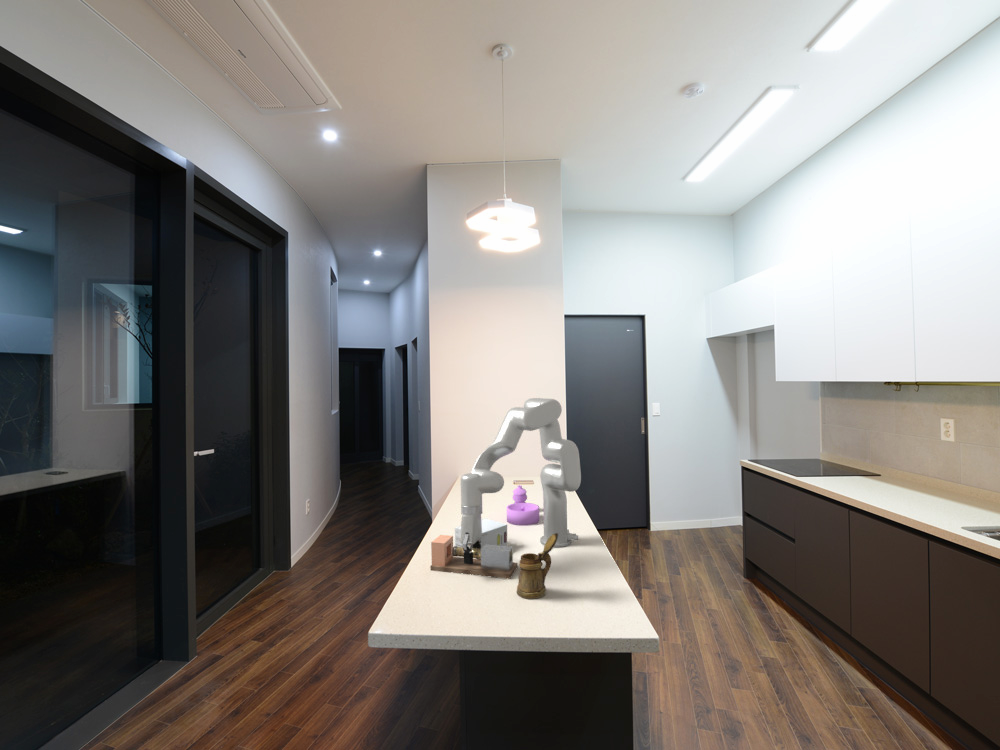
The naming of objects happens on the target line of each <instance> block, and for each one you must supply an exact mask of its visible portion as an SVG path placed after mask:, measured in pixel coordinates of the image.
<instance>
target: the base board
mask: <svg viewBox="0 0 1000 750" xmlns="http://www.w3.org/2000/svg"><path fill="white" fill-rule="evenodd" d="M516 568H517V569H518V562H514V561H513V566H512V567H511V569H510V570H509V571H504V570H494V569H485V568H481V559H480V558H478V559H476V558H473V564H465V563H464V557H459V556H457V557H456V556H453V559H452V560H451V561H450V562H449V563H447V564H446V565H445V566H438V565H432V564H431V565H430V571H434V572H441V573H442V572H444V573H451V572H453V574H461V573H463V574H462V575H470V574H471V575H470V576H479V575H482V576H481V577H488V576H491V577H490V578H492V577H493V578H498V577H500V579H507V578H508V579H509V580H510V579H511V578H512V577H513V575H514V573H515V572H516V570H517V569H516ZM472 574H473V575H472ZM511 576H512V577H511Z"/></svg>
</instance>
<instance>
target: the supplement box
mask: <svg viewBox="0 0 1000 750" xmlns="http://www.w3.org/2000/svg"><path fill="white" fill-rule="evenodd" d="M481 521H482V535H481V538H480V539H481V543H479V544H481V549H482V548H483V546H484V545H485V544H488V545H499V546H508V524H507V523H504V522H500V521H497V520H493V519H489V518H481ZM468 543H471V542H468ZM454 546H458V547H463V546H462V544H461V525H460V526H459V525H458V526H456V527H454ZM468 547H469V548H470V545H468Z"/></svg>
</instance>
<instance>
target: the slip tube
mask: <svg viewBox="0 0 1000 750" xmlns="http://www.w3.org/2000/svg"><path fill="white" fill-rule="evenodd" d="M472 552H473V559H476V558H478V559H481V549H477V548H472ZM452 555H453V557H463V558H464V552H463V547H458V546H455V545H453V551H452ZM510 557H511V553H509V561H510Z"/></svg>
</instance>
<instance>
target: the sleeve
mask: <svg viewBox="0 0 1000 750" xmlns="http://www.w3.org/2000/svg"><path fill="white" fill-rule="evenodd" d="M513 548H514V547H513V546H508V545H507V546H499V545H488V544H485V545H484V546H483V548H482V549H481V568H485V569H494V570H504V571H509V570H510V569H511V567H512V566H513V562H514V561H513V560H514V556H513V555H514V552H513ZM509 553H511V557H510V561H509Z"/></svg>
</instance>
